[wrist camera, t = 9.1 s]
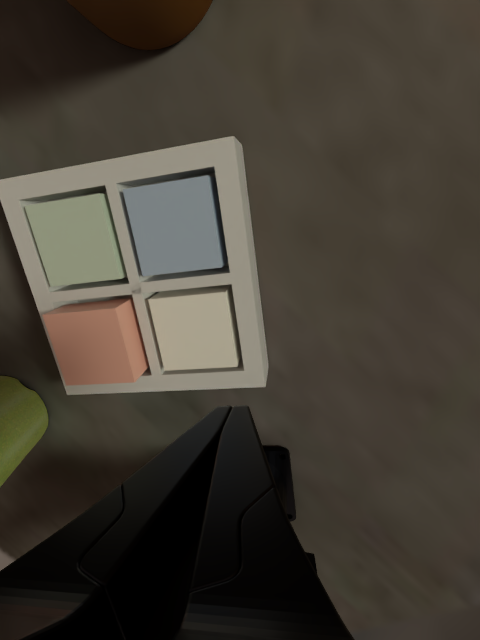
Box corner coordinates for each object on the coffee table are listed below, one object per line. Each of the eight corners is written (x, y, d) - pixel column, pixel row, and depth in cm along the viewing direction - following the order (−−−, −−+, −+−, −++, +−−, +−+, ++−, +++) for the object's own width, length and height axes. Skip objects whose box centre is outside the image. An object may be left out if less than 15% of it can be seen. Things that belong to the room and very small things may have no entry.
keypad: (268, 366, 21) (265, 387, 19) (90, 375, 24) (67, 394, 21) (242, 145, 17) (233, 135, 15) (30, 183, 20) (-7, 181, 17)
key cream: (242, 352, 21) (237, 366, 19) (175, 356, 21) (164, 370, 20) (232, 283, 19) (225, 292, 17) (161, 290, 20) (148, 299, 18)
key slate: (228, 261, 19) (221, 267, 17) (157, 269, 20) (142, 276, 18) (216, 178, 17) (207, 175, 16) (139, 190, 18) (122, 189, 16)
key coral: (149, 366, 20) (134, 382, 19) (86, 369, 21) (66, 385, 19) (132, 297, 19) (115, 308, 17) (65, 304, 20) (42, 315, 18)
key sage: (136, 271, 20) (120, 278, 18) (72, 279, 21) (50, 286, 19) (118, 194, 18) (99, 193, 17) (50, 205, 19) (24, 205, 17)
